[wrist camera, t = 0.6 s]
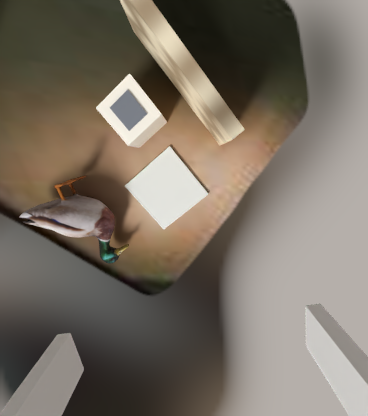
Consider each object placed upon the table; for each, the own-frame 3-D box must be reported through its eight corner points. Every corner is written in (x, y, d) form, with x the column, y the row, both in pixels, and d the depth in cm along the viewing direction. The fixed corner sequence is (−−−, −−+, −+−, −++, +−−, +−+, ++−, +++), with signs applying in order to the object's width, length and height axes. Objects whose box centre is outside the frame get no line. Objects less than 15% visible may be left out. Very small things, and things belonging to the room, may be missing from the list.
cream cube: (113, 117, 31) (95, 107, 25) (141, 89, 30) (129, 72, 24) (139, 147, 32) (127, 145, 26) (167, 122, 31) (161, 113, 25)
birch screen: (134, 32, 28) (104, -35, 18) (142, 23, 28) (116, -49, 18) (219, 145, 31) (232, 139, 22) (227, 138, 31) (244, 129, 21)
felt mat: (125, 185, 33) (124, 185, 33) (169, 146, 32) (169, 146, 31) (164, 228, 35) (163, 229, 35) (208, 193, 33) (208, 194, 33)
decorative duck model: (127, 271, 30) (36, 290, 31) (137, 246, 37) (62, 262, 38) (91, 177, 25) (-16, 202, 26) (110, 168, 33) (25, 188, 33)
